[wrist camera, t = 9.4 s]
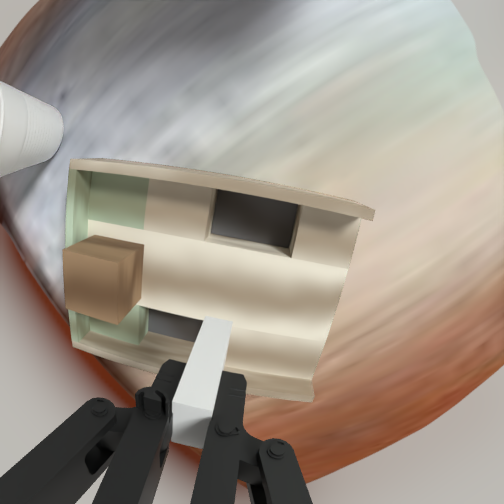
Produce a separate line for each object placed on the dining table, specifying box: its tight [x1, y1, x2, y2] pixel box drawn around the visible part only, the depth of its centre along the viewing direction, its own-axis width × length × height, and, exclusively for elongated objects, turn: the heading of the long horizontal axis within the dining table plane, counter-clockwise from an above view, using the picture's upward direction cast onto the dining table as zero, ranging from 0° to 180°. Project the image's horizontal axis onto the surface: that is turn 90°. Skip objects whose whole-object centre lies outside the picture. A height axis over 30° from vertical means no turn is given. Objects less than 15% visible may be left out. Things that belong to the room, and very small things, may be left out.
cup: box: [0, 81, 64, 177], centre depth 19 cm, size 10×10×11 cm
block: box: [63, 235, 144, 325], centre depth 23 cm, size 5×5×5 cm
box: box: [65, 158, 375, 402], centre depth 25 cm, size 18×23×6 cm
